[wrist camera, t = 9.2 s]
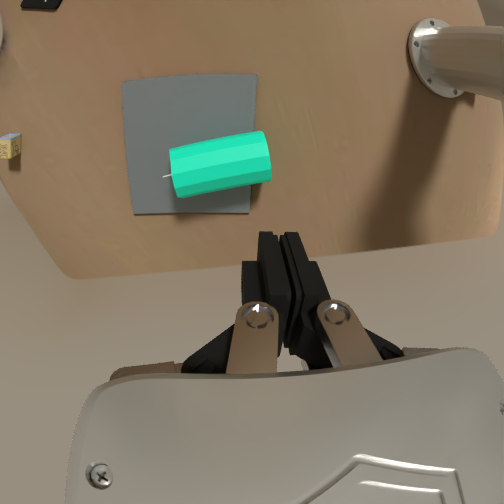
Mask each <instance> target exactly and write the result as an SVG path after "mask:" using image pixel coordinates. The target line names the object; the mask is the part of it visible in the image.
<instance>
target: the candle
mask: <svg viewBox="0 0 504 504" xmlns="http://www.w3.org/2000/svg"><path fill="white" fill-rule="evenodd" d="M169 153H170V161H171V174H170V175H166V176H163V177H167V176H172V180H173V184H174V188H175V191H176V194H177V197H179V198H186V197H191V196H196V195H200V194H205V193H210V192H215V191H220V190H225V189H230V188H235V187H240V186H246V185H251V184H257V183H263V182H268V181H271V164H270V156H269V151H268V146H267V142H266V139H265V136H264V133H263V132H262V131H255V132H249V133H243V134H237V135H232V136H226V137H221V138H216V139H211V140H206V141H202V142H197V143H193V144H188V145H184V146H180V147H176V148H172V149H169Z"/></svg>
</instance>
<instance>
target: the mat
mask: <svg viewBox="0 0 504 504" xmlns="http://www.w3.org/2000/svg"><path fill="white" fill-rule="evenodd" d="M256 86H257V75H249V74H195V75H177V76H165V77H155V78H147V79H139V80H132V81H125V82H122V93H123V120H124V136H125V149H126V160H127V169H128V178H129V186H130V194H131V201H132V208H133V214H147V213H250V198H251V185H246V186H240V187H235V188H230V189H225V190H220V191H215V192H210V193H205V194H200V195H196V196H191V197H186V198H179V197H177V194H176V191H175V188H174V184H173V180H172V176H167V177H163V176H166V175H170V174H171V161H170V153H169V149H172V148H176V147H180V146H184V145H188V144H193V143H197V142H202V141H206V140H211V139H216V138H221V137H226V136H232V135H237V134H243V133H249V132H254V122H255V104H256Z"/></svg>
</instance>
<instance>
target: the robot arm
mask: <svg viewBox="0 0 504 504" xmlns="http://www.w3.org/2000/svg"><path fill="white" fill-rule="evenodd" d="M408 46H409V54H410V59H411V62H412V65H413V67H414V70H415V71H416V73H417V75H418V77H419V78H420V80H421V81H422V82H423V84H424V85H425V86H426V87H427V88H428V89H430V90H431V91H432V92H434V93H435V94H437V95H440V96H443V97H448V98H453V97H457V96H460V95H461V94H462V93H464V91H466V92H470V93H474V94H478V95H482V96H486V97H490V98H493V99H497V100H500V101H503V102H504V27H500V26H452V27H451V26H450V25H449V24H447V23H446V22H444V21H441V20H439V19H434V18H428V19H423V20H421V21H419V22H417V23H416V24H415V25H414V26H413V28H412V30H411V32H410V36H409V43H408ZM241 280H242V281H241V284H242V285H241V290H242V291H241V292H242V306H241V307H240V308H239V309H238V312H237V314H236V320H235V324H233V325H232V326H231V327H229V328H228V329H227V330H225V331H224V332H223V333H221V334H220V335H218V336H217V337H216V338H214V339H213V340H212V341H210V342H209V343H208V344H206V345H205V346H204V347H202V348H201V349H199V350H198V351H197V352H195V353H194V354H192V355H191V356H190V357H188V358H187V360H185V361H184V363H178V364H174V361H172V362H165V363H158V364H149V365H140V366H131V367H124V368H120V369H118V370H116V371H115V372H114V373H113V374H112V375H111V377H110V381H108V382H106V383H104V384H102V385H100V386H98V387H97V388H95V389H94V390H93V391H92V392H91V393H90V394H89V396H88V397H87V399H86V401H85V403H84V405H83V407H82V410H81V412H80V415H79V418H78V421H77V424H76V428H75V432H74V435H73V440H72V445H71V451H70V457H69V462H68V470H67V480H66V493H65V504H504V382H503V379H502V378H501V376H500V374H499V372H498V370H497V369H496V367H495V365H494V364H493V363H492V361H491V360H490V359H489V357H488V356H487V355H486V354H484V353H483V352H481V351H478V350H476V349H471V348H460V347H455V348H446V349H434V348H433V349H432V348H407V347H403V348H402V350H400V348H398V347H397V346H396V345H394V344H392V343H391V342H389V341H387V340H385V339H383V338H382V337H380V336H378V335H376V334H374V333H372V332H371V331H369V330H367V329H365V328H364V327H363V326H362V324H361V322H360V321H359V319H358V318H357V316H356V314H355V313H354V311H353V310H352V309H351V308H350V306H349V305H347V304H346V303H344V302H342V301H339V300H331V298H330V295H329V293H328V290H327V287H326V285H325V282H324V280H323V277H322V275H321V272H320V269H319V267H318V264H317V262H316V261H309V260H308V257H307V255H306V252H305V249H304V247H303V244H302V241H301V239H300V236H299V234H298V232H285V233H284V235H280V239H279V241H278V237H277V235H273V233H272V232H264V231H260V232H259V239H258V253H257V261H242V278H241ZM282 343H283V344H284V347H285V348H289V353H290V355H297V356H298V357H300V358H301V359H302V360H301V364H302V367H303V370H304V371H292V372H277V358H278V357H279V356H280V352H281V346H282ZM108 466H109V467H108Z"/></svg>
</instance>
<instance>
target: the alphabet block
mask: <svg viewBox="0 0 504 504" xmlns="http://www.w3.org/2000/svg"><path fill="white" fill-rule="evenodd" d="M19 153H21V134H7V135H5V136H3V137H1V138H0V158H7V159H11V158H13V157H14V156H16V155H18V154H19Z"/></svg>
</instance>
